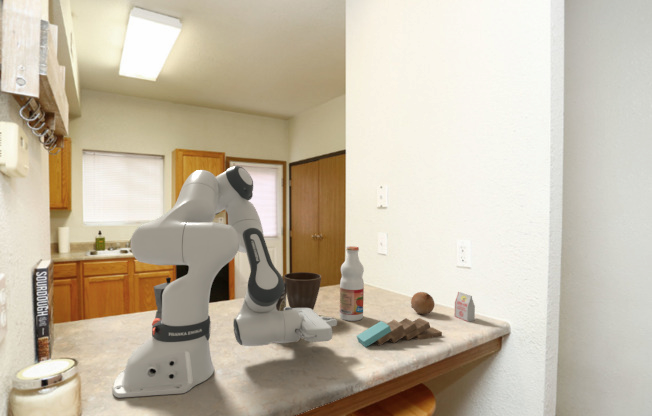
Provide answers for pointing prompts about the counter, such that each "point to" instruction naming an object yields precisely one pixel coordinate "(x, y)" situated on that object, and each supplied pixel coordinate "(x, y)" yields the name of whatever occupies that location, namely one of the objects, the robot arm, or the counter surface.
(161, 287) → the coffeepot
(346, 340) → the counter surface
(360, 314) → the fruit juice
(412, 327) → the domino
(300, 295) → the plant pot
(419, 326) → the domino
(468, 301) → the tea bag
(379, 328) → the teal domino tile
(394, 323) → the domino
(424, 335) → the domino
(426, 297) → the onion
